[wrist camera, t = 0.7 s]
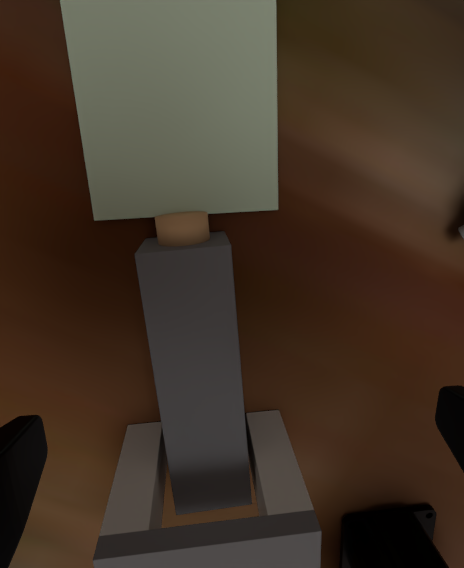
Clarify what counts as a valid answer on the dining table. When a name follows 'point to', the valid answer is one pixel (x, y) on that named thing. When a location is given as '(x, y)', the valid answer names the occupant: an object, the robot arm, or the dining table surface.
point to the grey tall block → (196, 360)
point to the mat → (175, 104)
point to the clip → (215, 535)
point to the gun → (461, 230)
